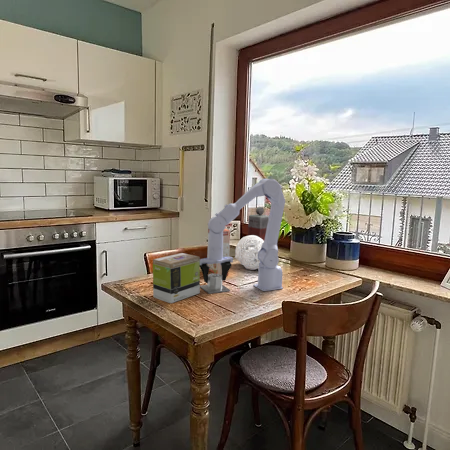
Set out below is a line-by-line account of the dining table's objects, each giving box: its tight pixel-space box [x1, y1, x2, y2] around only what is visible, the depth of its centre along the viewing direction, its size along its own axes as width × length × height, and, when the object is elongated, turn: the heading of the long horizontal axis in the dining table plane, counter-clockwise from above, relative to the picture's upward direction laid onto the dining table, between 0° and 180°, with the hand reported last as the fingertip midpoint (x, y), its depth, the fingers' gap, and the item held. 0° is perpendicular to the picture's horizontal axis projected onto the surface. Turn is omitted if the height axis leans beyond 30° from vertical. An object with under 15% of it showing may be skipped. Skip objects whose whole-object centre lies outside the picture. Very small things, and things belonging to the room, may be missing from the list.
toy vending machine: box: [247, 206, 269, 241], centre depth 201 cm, size 9×11×28 cm
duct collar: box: [206, 273, 223, 290], centre depth 143 cm, size 6×6×5 cm
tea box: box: [152, 252, 201, 304], centre depth 133 cm, size 15×10×15 cm, turn 141°
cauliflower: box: [234, 235, 264, 271], centre depth 178 cm, size 20×18×16 cm
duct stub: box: [200, 275, 231, 295], centre depth 143 cm, size 9×9×6 cm
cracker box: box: [206, 226, 231, 276], centre depth 166 cm, size 14×6×21 cm, turn 22°
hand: (214, 281), depth 143 cm, fingers open, 7 cm apart
